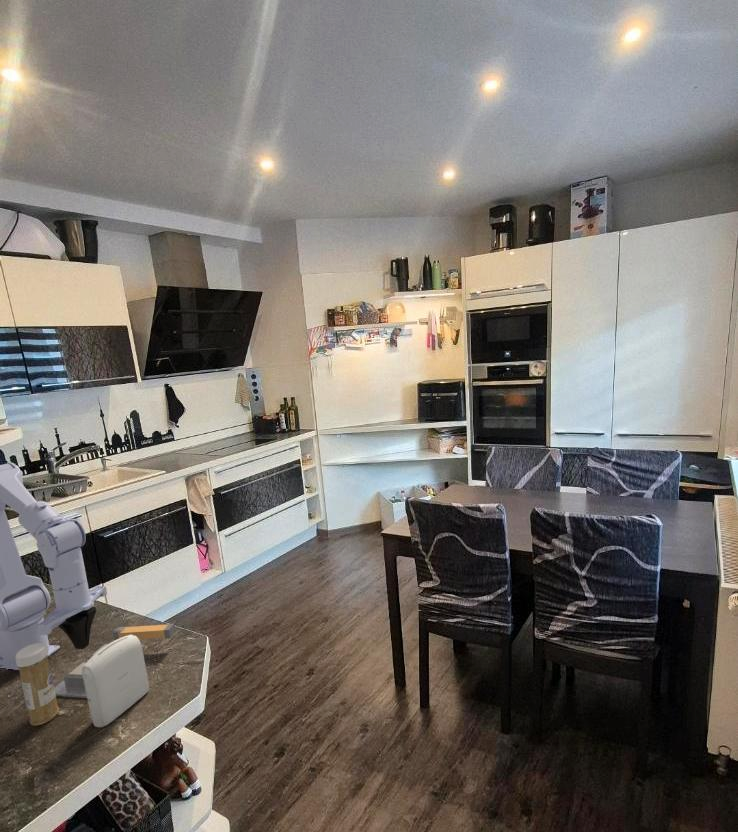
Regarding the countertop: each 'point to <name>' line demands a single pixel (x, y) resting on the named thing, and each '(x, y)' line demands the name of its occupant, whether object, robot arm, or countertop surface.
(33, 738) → the countertop surface
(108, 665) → the photo printer
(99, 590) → the robot arm
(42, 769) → the countertop surface
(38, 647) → the sprinkles bottle
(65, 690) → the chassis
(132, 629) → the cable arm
